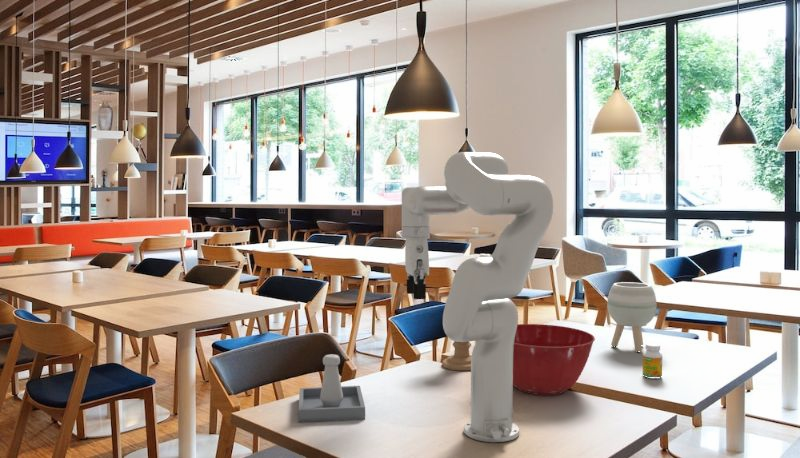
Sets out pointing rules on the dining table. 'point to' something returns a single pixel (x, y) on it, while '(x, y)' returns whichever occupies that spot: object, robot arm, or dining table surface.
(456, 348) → the candle holder
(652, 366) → the supplement bottle
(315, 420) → the tray
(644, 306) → the planter
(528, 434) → the dining table surface
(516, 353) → the mixing bowl
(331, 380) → the salt shaker
